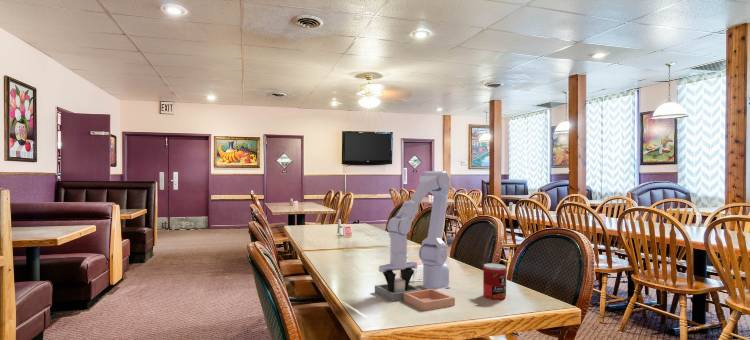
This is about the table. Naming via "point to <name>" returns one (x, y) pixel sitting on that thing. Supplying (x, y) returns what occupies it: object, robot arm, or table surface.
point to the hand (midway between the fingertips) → (398, 290)
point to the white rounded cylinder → (399, 285)
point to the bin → (391, 296)
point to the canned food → (494, 281)
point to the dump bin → (429, 299)
